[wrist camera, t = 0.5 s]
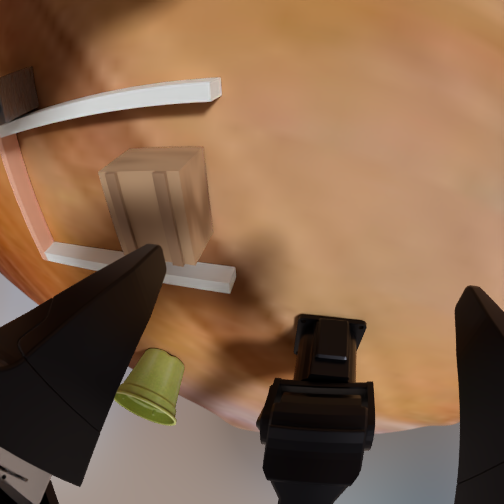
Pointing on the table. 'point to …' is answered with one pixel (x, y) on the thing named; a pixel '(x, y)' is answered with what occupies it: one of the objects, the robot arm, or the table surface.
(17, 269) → the table surface
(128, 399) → the plant pot
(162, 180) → the crate
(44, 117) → the bay
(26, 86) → the winch
